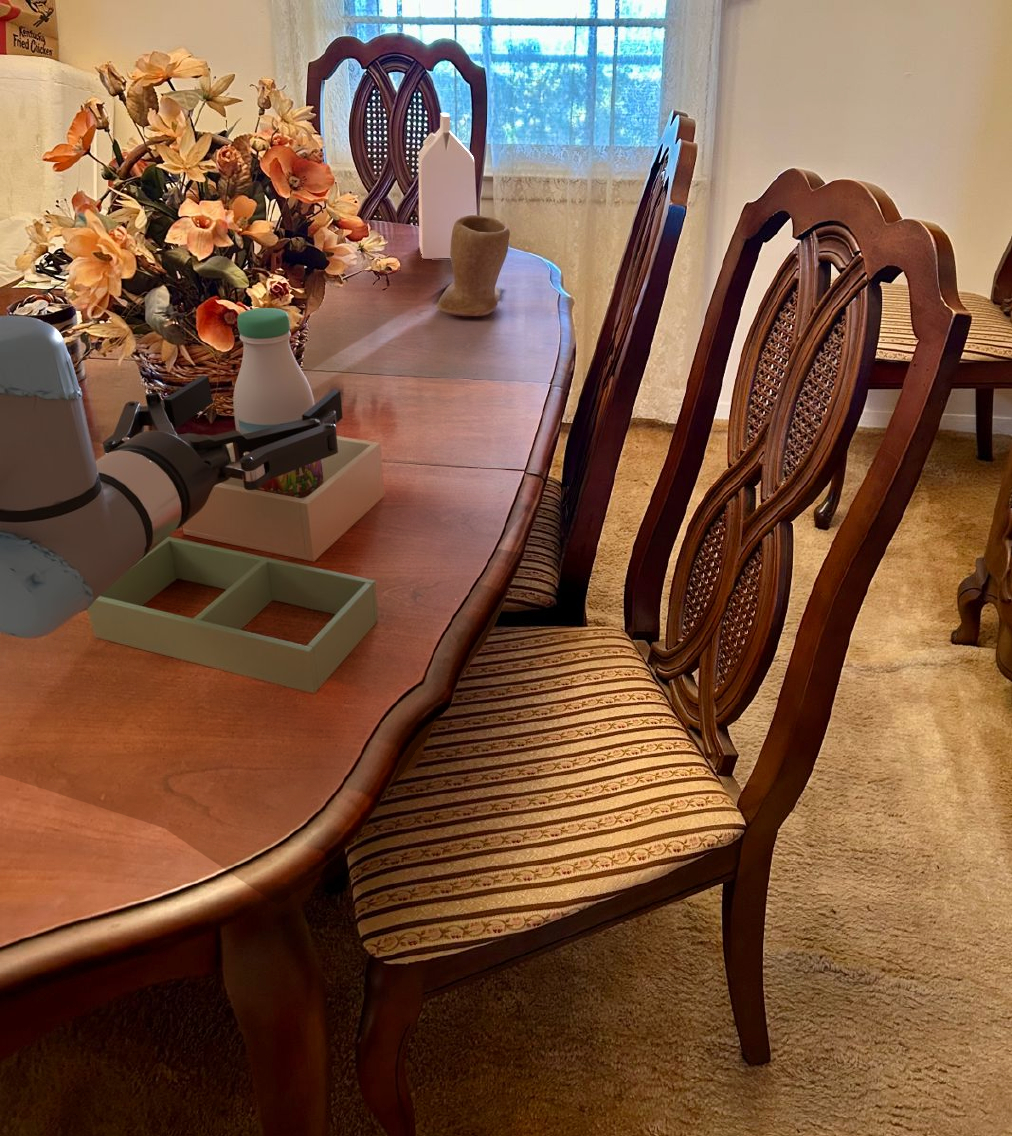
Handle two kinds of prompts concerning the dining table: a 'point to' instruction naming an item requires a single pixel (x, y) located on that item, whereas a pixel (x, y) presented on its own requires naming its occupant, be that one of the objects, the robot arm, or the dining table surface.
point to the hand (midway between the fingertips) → (271, 396)
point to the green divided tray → (237, 613)
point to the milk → (443, 189)
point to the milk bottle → (273, 391)
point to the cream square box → (295, 506)
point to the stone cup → (475, 266)
